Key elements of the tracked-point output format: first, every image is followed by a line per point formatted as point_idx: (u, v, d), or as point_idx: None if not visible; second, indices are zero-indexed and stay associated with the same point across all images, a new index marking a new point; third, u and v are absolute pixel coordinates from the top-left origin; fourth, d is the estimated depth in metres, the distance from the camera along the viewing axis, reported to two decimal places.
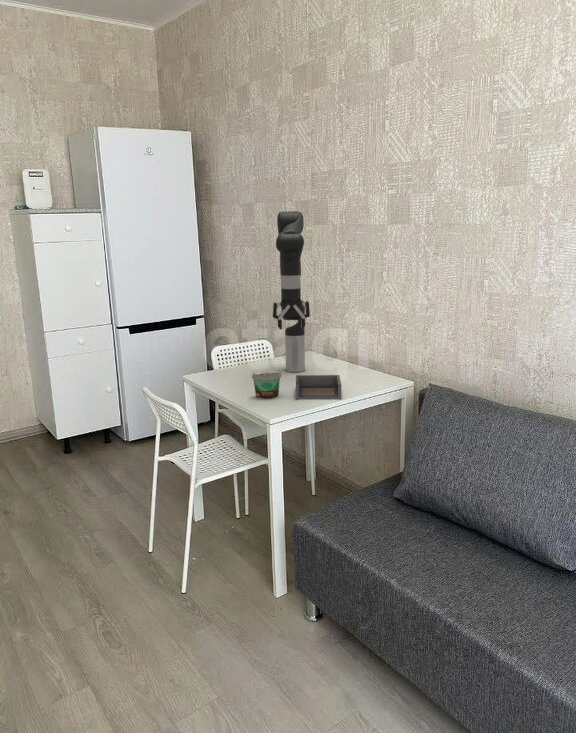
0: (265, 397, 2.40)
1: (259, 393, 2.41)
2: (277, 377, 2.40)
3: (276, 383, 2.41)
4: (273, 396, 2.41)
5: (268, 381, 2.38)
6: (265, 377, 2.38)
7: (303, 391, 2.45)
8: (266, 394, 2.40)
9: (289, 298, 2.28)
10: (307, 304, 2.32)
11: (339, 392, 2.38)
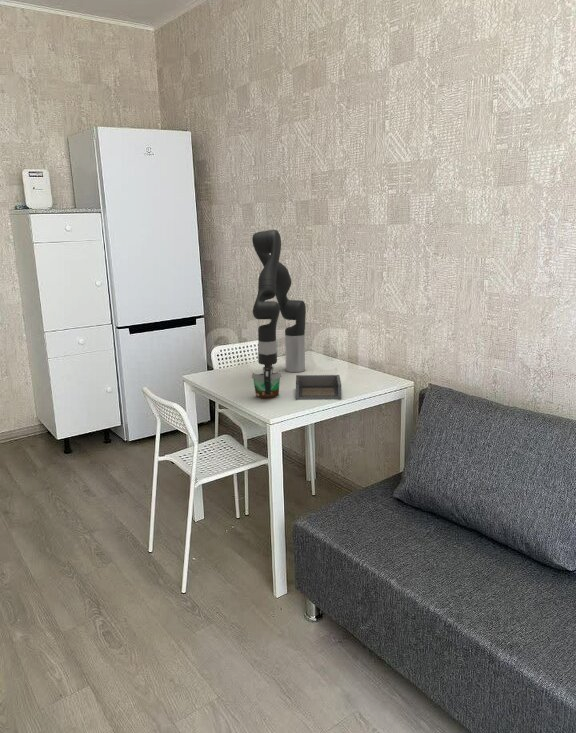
0: (265, 397, 2.40)
1: (259, 393, 2.41)
2: (277, 377, 2.39)
3: (275, 383, 2.41)
4: (273, 396, 2.41)
5: (268, 381, 2.38)
6: None
7: (303, 391, 2.45)
8: None
9: (276, 361, 2.38)
10: (271, 365, 2.46)
11: (339, 392, 2.38)
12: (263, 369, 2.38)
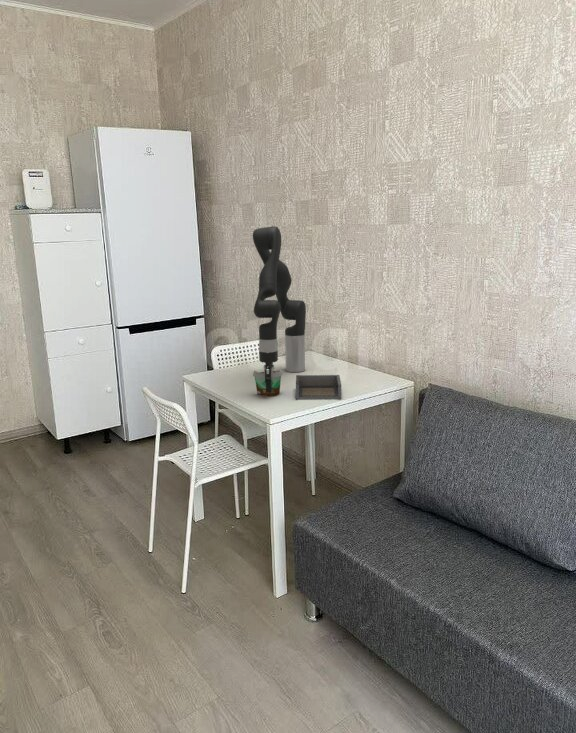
0: (266, 395, 2.43)
1: (260, 390, 2.44)
2: (278, 375, 2.42)
3: (276, 381, 2.43)
4: (274, 394, 2.44)
5: (269, 379, 2.41)
6: None
7: (303, 391, 2.45)
8: (267, 392, 2.43)
9: (277, 359, 2.42)
10: (272, 364, 2.49)
11: (339, 392, 2.38)
12: (264, 367, 2.42)
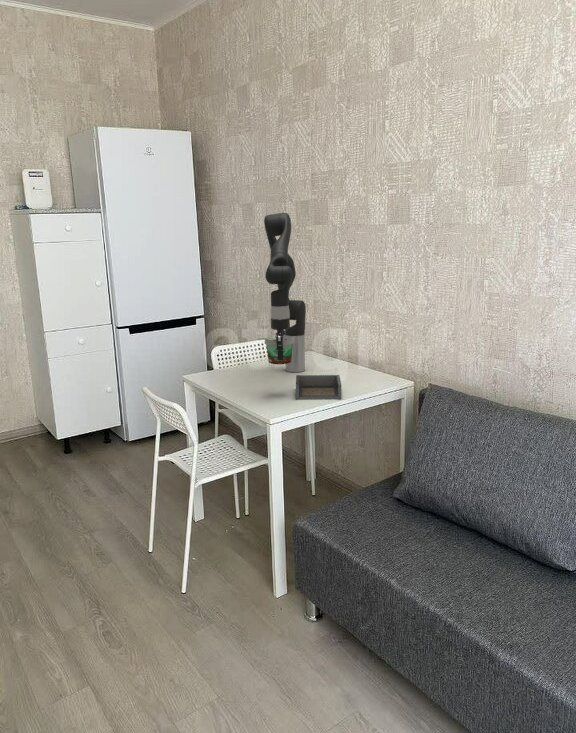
0: (277, 363, 2.40)
1: (271, 358, 2.41)
2: (289, 343, 2.39)
3: (288, 349, 2.40)
4: (285, 362, 2.41)
5: (280, 346, 2.38)
6: None
7: (303, 391, 2.45)
8: (278, 360, 2.40)
9: (289, 326, 2.38)
10: (284, 332, 2.46)
11: (339, 392, 2.38)
12: (276, 334, 2.38)
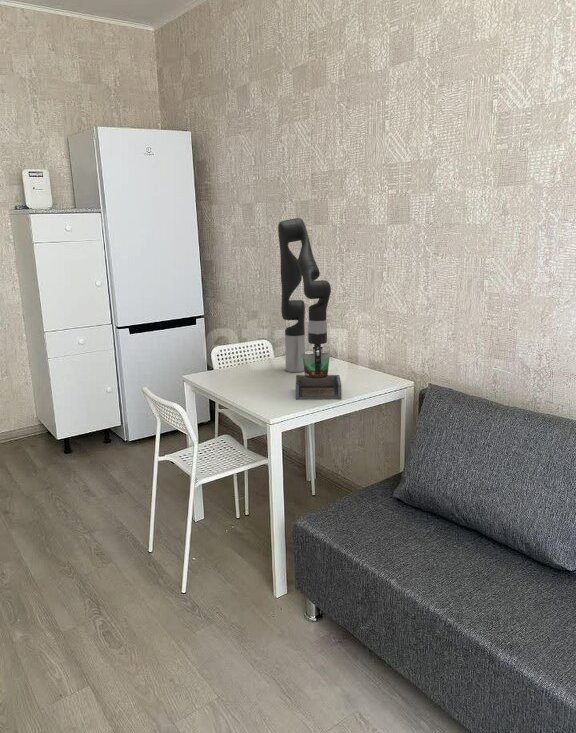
0: (315, 377, 2.40)
1: (308, 372, 2.41)
2: (327, 357, 2.39)
3: (325, 363, 2.40)
4: (323, 376, 2.41)
5: (318, 361, 2.38)
6: None
7: (303, 391, 2.45)
8: (316, 374, 2.40)
9: (326, 341, 2.38)
10: None
11: (339, 392, 2.38)
12: (313, 349, 2.39)
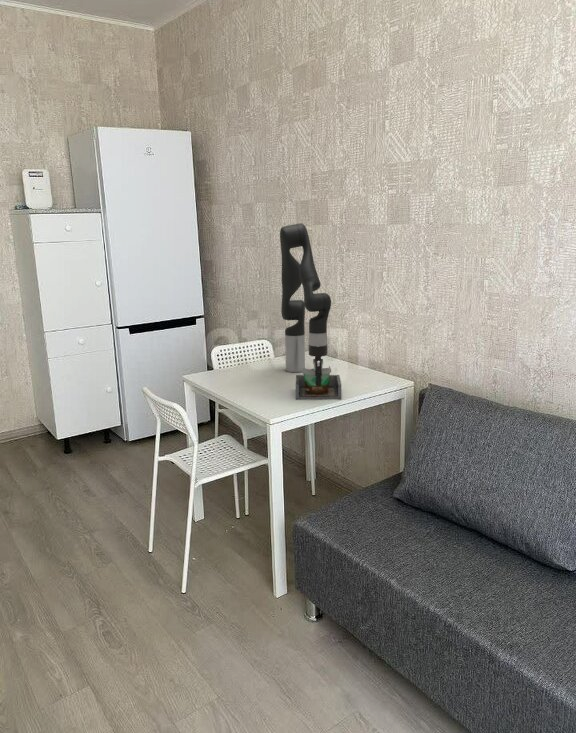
0: (315, 392, 2.41)
1: (309, 387, 2.42)
2: (327, 372, 2.40)
3: (325, 378, 2.41)
4: (323, 391, 2.42)
5: None
6: None
7: (303, 391, 2.45)
8: (316, 389, 2.41)
9: None
10: None
11: (339, 392, 2.38)
12: (313, 361, 2.40)
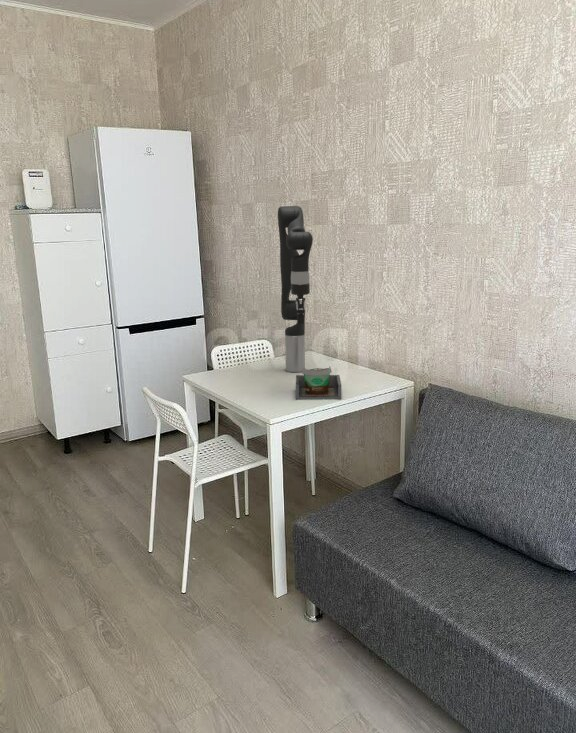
0: (315, 392, 2.41)
1: (309, 388, 2.42)
2: (327, 372, 2.40)
3: (326, 379, 2.41)
4: (323, 391, 2.42)
5: (318, 376, 2.39)
6: (315, 372, 2.39)
7: (303, 391, 2.45)
8: (316, 389, 2.41)
9: (309, 292, 2.43)
10: None
11: (339, 392, 2.38)
12: (296, 299, 2.43)
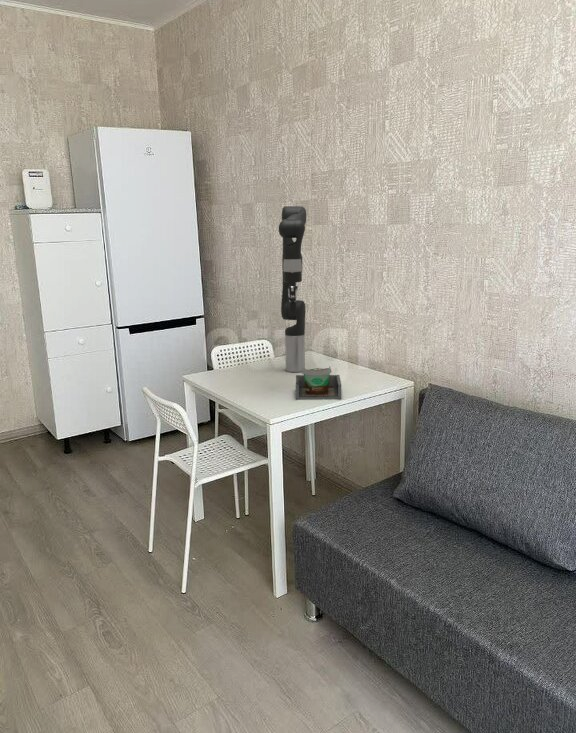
0: (315, 392, 2.41)
1: (309, 388, 2.42)
2: (327, 372, 2.40)
3: (326, 379, 2.41)
4: (323, 391, 2.42)
5: (318, 376, 2.39)
6: (315, 372, 2.39)
7: (303, 391, 2.45)
8: (316, 389, 2.41)
9: (301, 280, 2.46)
10: None
11: (339, 392, 2.38)
12: (288, 287, 2.46)
